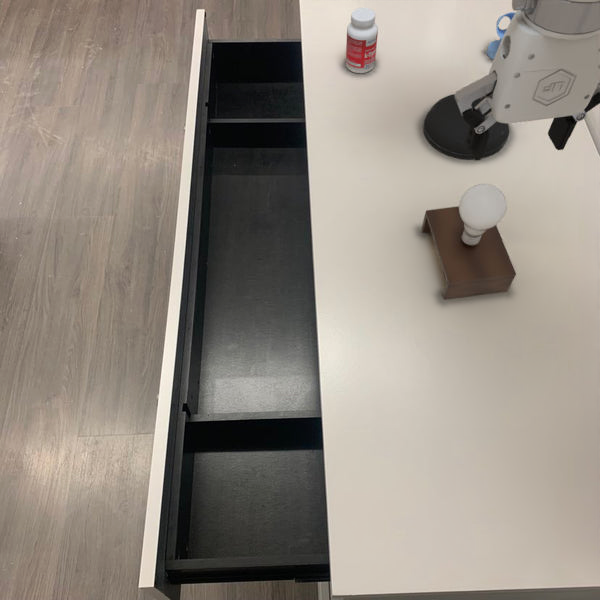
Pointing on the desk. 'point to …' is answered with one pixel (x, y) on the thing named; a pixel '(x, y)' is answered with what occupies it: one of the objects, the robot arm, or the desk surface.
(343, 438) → the desk surface
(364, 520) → the desk surface
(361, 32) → the pill bottle
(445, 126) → the desk lamp
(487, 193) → the lightbulb
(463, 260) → the brown wooden stand
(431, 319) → the desk surface
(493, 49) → the spotlight
